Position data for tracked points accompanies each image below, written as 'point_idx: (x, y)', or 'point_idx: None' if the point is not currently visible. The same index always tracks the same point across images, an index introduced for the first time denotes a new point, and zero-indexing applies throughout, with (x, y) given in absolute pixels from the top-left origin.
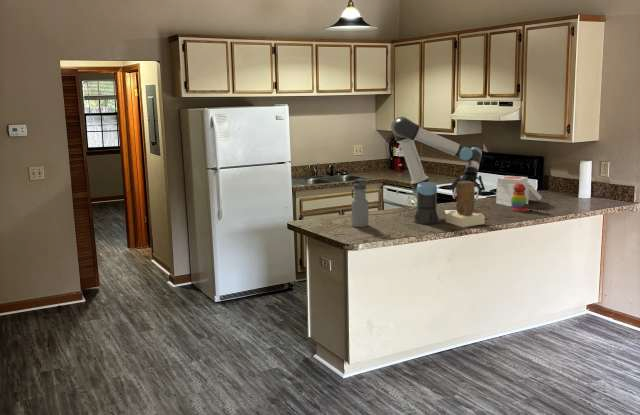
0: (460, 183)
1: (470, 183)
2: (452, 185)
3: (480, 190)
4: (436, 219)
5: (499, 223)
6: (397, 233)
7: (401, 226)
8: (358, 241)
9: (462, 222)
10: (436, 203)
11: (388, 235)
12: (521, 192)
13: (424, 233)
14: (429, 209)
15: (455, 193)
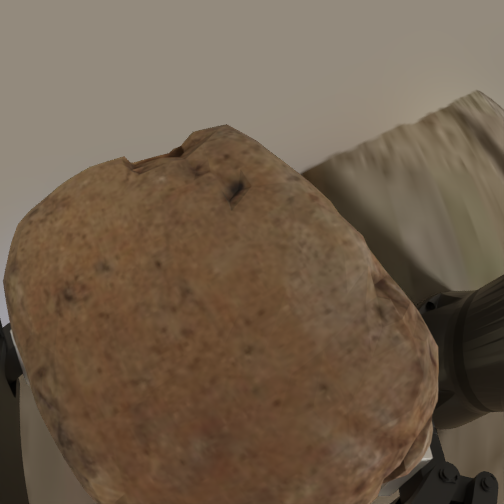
0: (385, 280)
1: (109, 164)
2: (477, 490)
3: (9, 328)
4: None
5: None
6: (463, 153)
7: (496, 246)
8: (483, 104)
9: None
10: (473, 348)
11: (469, 136)
12: None
13: (396, 147)
14: (475, 291)
15: None
